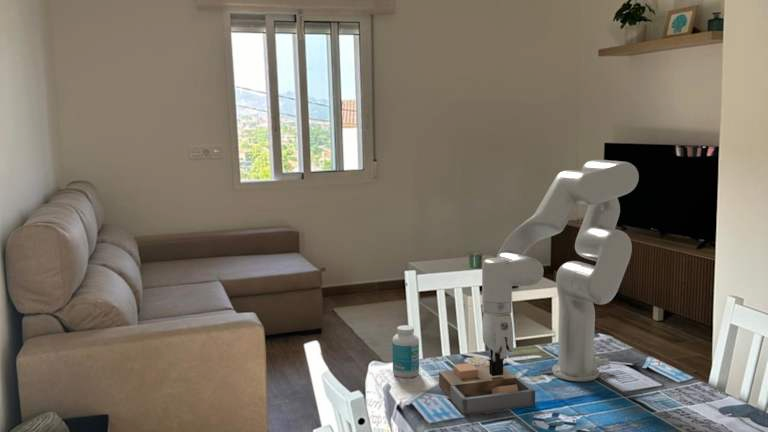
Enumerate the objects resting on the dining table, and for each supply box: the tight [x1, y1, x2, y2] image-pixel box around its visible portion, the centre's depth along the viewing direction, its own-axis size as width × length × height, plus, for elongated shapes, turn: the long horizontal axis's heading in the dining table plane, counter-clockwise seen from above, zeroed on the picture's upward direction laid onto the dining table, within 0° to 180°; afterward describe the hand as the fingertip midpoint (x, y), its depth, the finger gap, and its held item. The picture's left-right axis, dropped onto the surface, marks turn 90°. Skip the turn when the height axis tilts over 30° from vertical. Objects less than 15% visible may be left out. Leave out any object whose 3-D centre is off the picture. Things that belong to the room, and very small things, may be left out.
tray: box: [449, 377, 536, 416], centre depth 174 cm, size 19×9×4 cm, turn 105°
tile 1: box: [452, 362, 478, 379], centre depth 183 cm, size 5×5×2 cm
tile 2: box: [491, 384, 518, 394], centre depth 175 cm, size 5×5×2 cm
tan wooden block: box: [438, 365, 518, 399], centre depth 183 cm, size 18×10×4 cm, turn 105°
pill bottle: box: [392, 324, 420, 379], centre depth 194 cm, size 8×7×14 cm
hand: (496, 374), depth 181 cm, fingers closed
